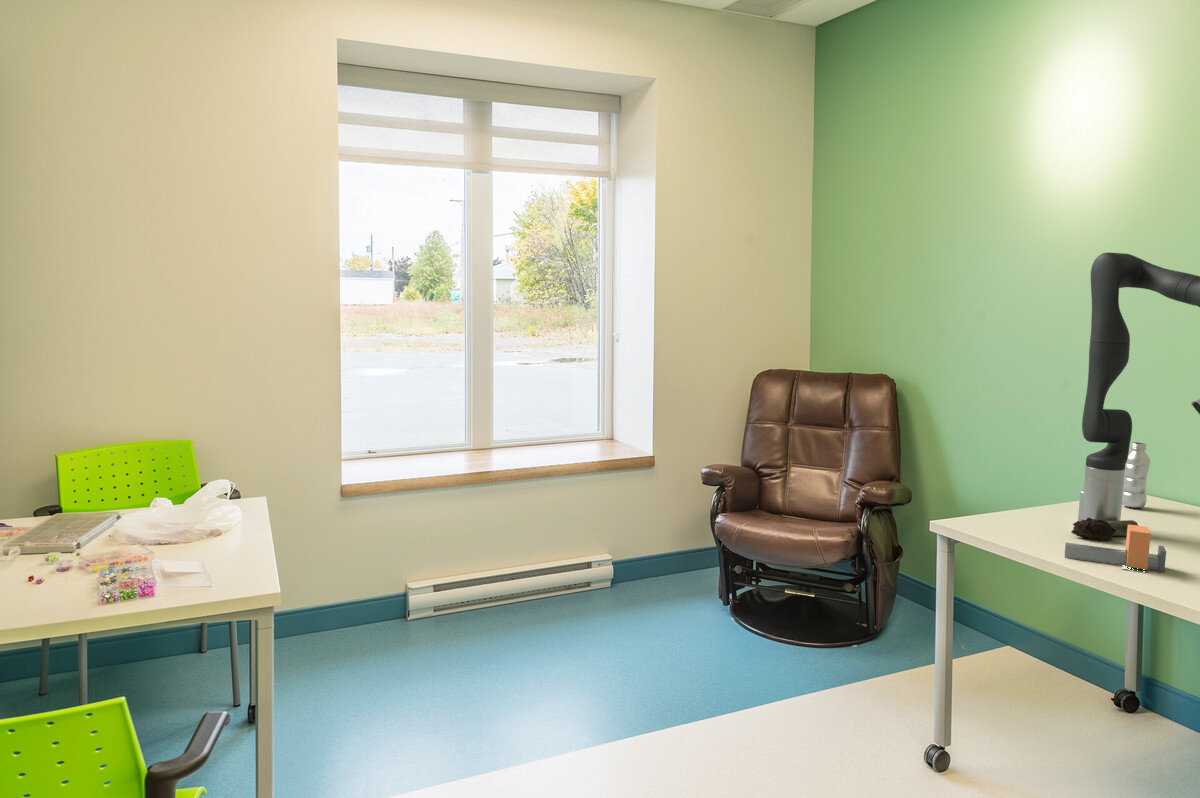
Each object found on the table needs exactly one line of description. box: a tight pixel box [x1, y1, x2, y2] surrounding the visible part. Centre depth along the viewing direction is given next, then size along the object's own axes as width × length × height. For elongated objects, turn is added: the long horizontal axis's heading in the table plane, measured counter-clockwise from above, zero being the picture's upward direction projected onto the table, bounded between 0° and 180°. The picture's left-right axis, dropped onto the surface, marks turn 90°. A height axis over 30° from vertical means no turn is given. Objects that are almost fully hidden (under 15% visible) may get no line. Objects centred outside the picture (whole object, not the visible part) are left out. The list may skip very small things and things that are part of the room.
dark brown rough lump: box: [1070, 518, 1139, 542], centre depth 215 cm, size 18×7×6 cm, turn 102°
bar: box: [1064, 542, 1167, 574], centre depth 194 cm, size 20×10×5 cm, turn 61°
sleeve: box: [1125, 525, 1152, 570], centre depth 192 cm, size 4×7×9 cm, turn 151°
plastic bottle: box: [1122, 441, 1151, 509], centre depth 248 cm, size 6×7×20 cm
